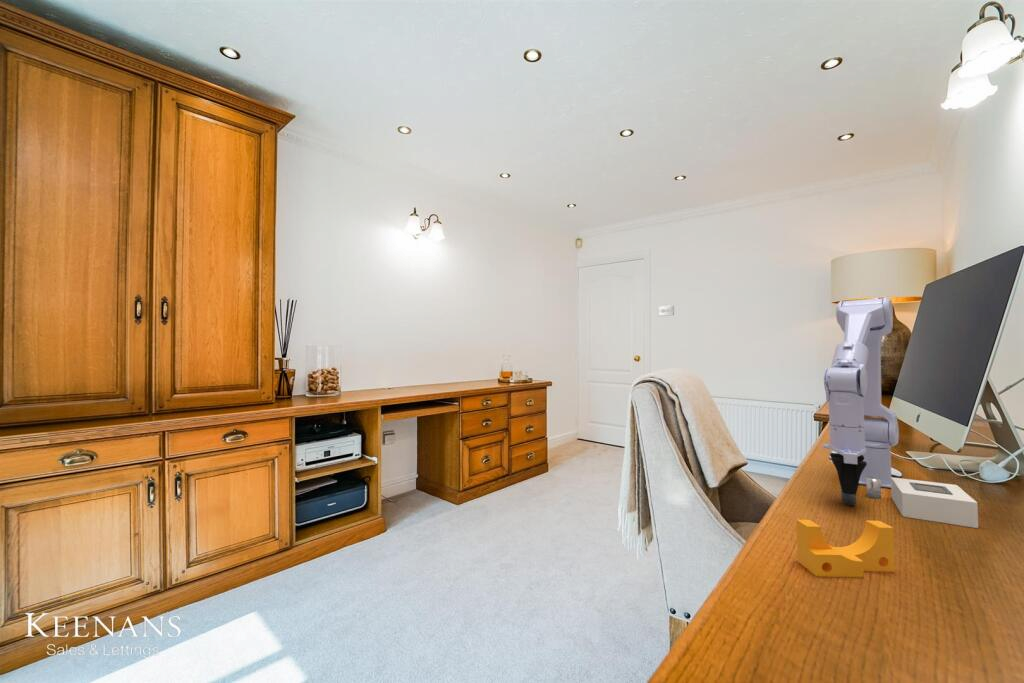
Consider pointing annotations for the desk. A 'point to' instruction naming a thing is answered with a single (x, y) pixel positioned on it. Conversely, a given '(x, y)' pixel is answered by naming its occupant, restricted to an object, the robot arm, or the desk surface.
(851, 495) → the long pin
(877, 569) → the pipe clamp
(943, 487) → the pin block
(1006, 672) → the desk surface
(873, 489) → the short pin
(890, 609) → the desk surface
